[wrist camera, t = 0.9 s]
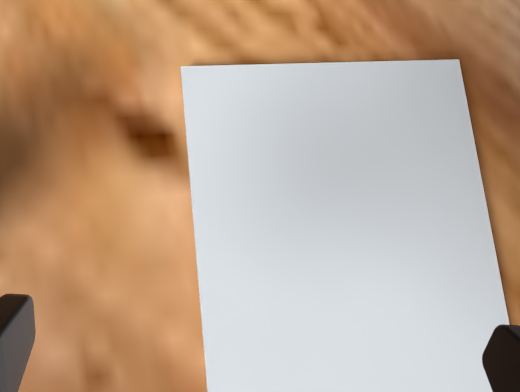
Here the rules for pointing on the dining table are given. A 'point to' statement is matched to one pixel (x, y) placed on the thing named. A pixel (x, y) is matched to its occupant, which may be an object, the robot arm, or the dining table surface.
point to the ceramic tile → (339, 228)
